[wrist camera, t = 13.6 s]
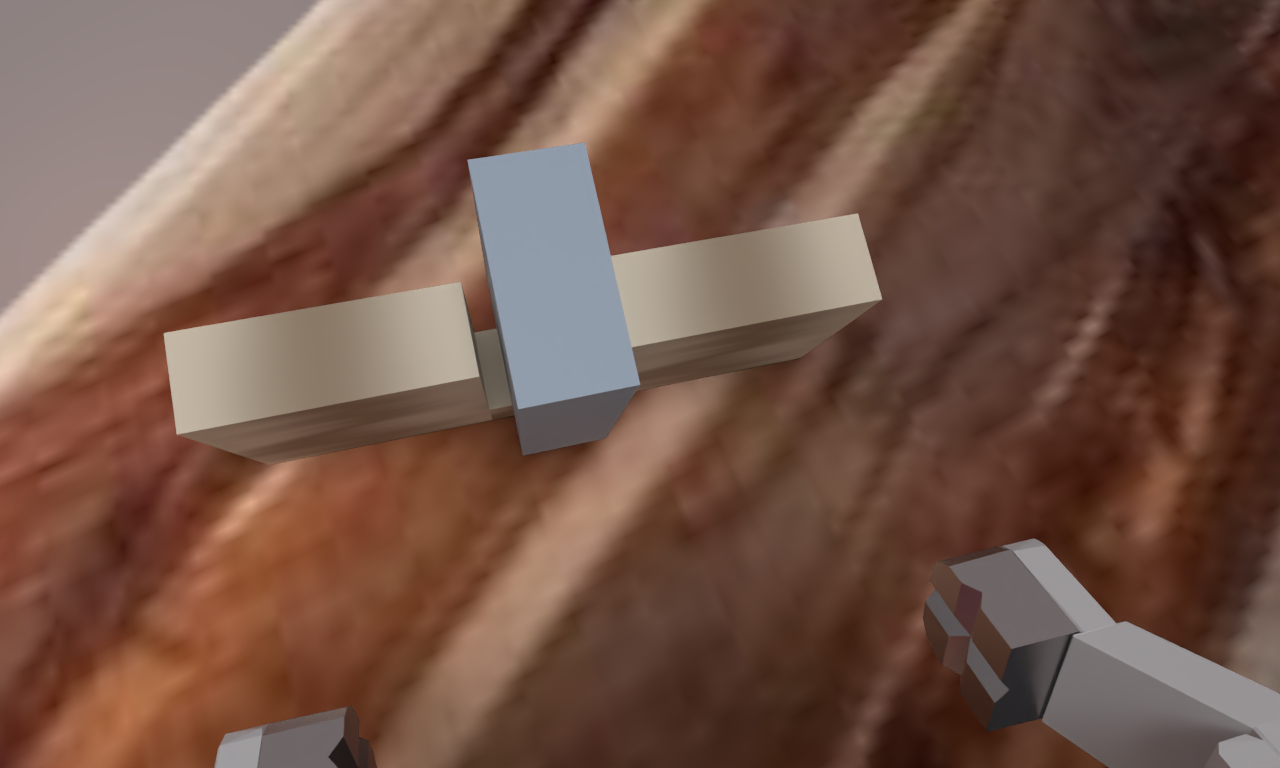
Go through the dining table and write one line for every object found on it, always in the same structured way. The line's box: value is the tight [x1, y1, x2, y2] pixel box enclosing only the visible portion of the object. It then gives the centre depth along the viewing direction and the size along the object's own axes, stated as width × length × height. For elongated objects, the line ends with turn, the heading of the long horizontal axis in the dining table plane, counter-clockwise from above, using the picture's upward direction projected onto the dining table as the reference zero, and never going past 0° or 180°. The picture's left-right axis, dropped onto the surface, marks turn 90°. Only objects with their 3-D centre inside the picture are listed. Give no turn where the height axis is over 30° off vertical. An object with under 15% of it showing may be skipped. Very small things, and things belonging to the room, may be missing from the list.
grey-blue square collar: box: [468, 143, 640, 456], centre depth 22 cm, size 6×3×8 cm, turn 13°
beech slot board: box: [164, 214, 882, 465], centre depth 25 cm, size 18×2×7 cm, turn 103°
